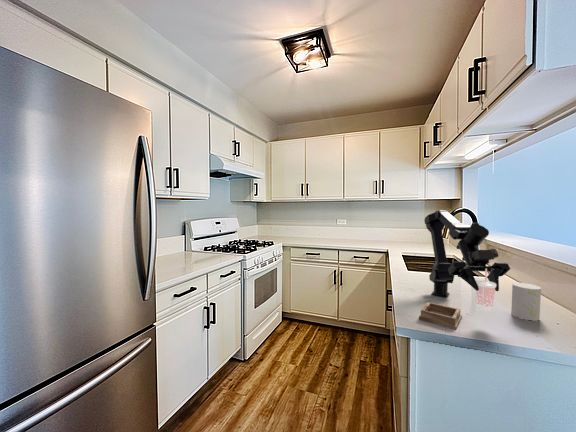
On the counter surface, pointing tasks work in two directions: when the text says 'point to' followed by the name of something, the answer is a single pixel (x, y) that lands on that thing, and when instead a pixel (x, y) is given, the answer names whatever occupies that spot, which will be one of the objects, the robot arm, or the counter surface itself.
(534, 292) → the grey upright cylinder
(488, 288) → the beverage cup
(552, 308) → the counter surface
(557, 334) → the counter surface
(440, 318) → the tray
